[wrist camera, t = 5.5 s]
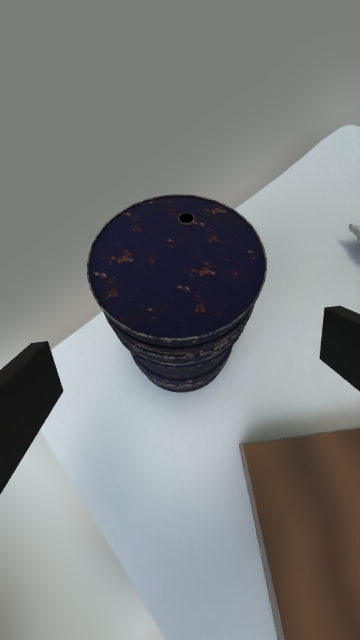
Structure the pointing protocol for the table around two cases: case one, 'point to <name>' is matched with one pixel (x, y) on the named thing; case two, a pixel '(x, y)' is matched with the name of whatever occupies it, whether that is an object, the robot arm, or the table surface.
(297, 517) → the board
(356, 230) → the packaged food
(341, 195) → the table surface
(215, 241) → the navy ribbed canister
